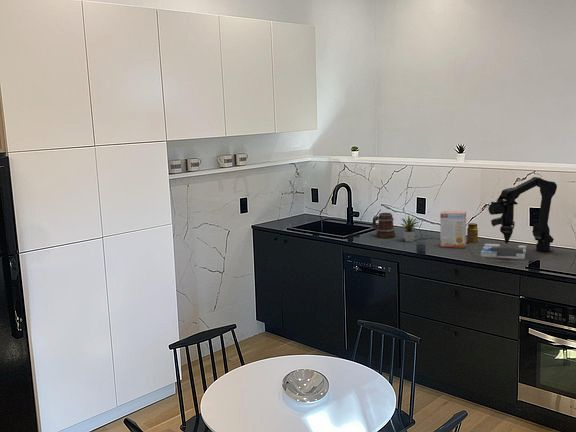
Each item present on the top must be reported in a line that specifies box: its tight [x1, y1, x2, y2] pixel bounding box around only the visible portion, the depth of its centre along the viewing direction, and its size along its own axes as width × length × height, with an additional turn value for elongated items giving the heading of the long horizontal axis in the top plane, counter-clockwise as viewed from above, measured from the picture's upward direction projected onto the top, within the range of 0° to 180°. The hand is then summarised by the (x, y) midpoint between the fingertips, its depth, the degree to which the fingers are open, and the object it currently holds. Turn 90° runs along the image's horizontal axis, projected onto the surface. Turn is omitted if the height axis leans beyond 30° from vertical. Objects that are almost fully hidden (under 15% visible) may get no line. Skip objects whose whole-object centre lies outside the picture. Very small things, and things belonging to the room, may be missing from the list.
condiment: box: [466, 222, 479, 246], centre depth 355 cm, size 7×8×12 cm
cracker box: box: [439, 210, 467, 249], centre depth 349 cm, size 14×6×21 cm, turn 65°
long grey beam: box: [491, 246, 523, 257], centre depth 323 cm, size 16×4×4 cm, turn 66°
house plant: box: [400, 214, 420, 243], centre depth 368 cm, size 14×14×16 cm
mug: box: [371, 212, 396, 239], centre depth 385 cm, size 16×12×15 cm
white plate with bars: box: [480, 243, 527, 260], centre depth 328 cm, size 22×22×4 cm
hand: (507, 241), depth 321 cm, fingers open, 9 cm apart
